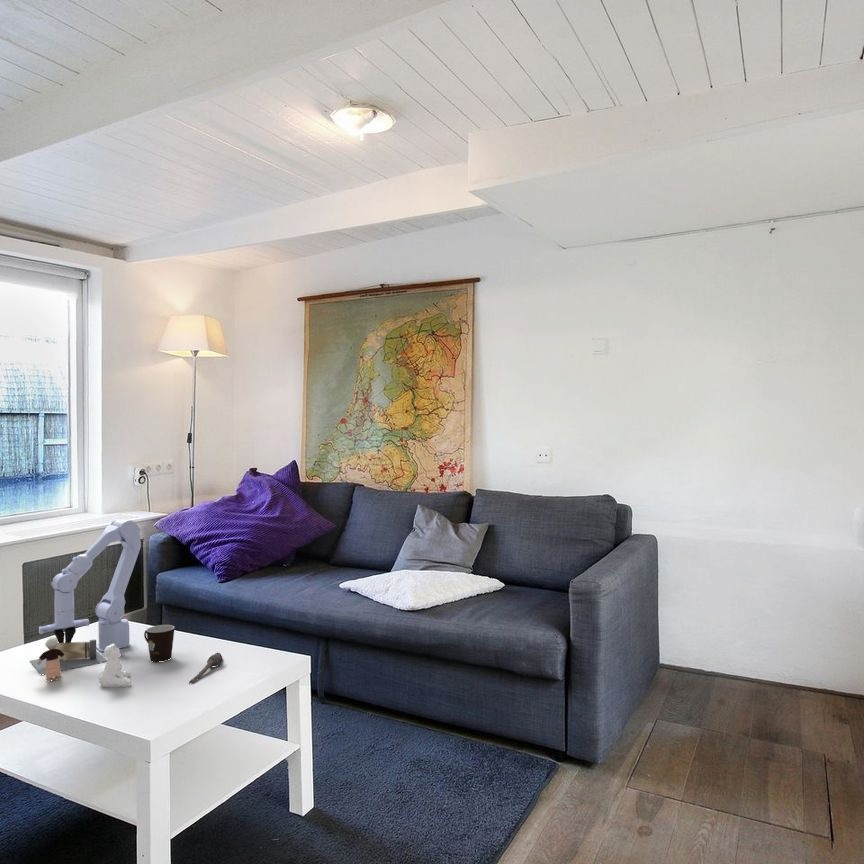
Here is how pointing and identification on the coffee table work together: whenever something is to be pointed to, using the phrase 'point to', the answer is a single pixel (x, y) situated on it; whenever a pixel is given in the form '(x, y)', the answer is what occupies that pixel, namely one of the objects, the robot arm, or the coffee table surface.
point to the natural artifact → (209, 665)
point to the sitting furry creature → (114, 670)
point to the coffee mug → (160, 642)
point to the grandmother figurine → (52, 659)
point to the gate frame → (73, 660)
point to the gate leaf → (74, 650)
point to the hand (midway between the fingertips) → (64, 651)
